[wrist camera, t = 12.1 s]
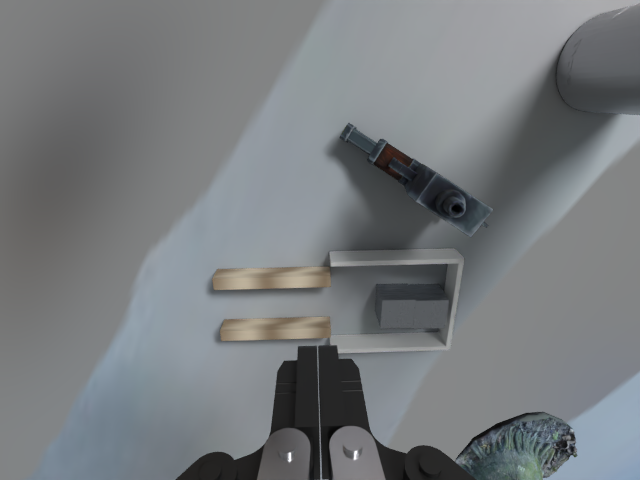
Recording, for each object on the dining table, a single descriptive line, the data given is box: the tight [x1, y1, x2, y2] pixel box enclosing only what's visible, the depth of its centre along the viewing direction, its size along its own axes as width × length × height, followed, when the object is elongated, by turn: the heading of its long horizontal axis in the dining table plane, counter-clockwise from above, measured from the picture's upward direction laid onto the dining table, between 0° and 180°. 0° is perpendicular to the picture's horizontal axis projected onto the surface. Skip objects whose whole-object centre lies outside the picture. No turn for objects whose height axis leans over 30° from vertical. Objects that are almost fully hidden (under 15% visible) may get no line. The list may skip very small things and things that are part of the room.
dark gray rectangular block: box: [375, 284, 416, 328], centre depth 45 cm, size 4×4×4 cm
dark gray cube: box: [408, 284, 449, 329], centre depth 45 cm, size 4×4×4 cm
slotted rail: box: [212, 267, 331, 341], centre depth 45 cm, size 14×9×2 cm, turn 91°
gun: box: [340, 123, 494, 237], centre depth 32 cm, size 3×17×15 cm
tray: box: [329, 248, 464, 353], centre depth 45 cm, size 16×13×3 cm
